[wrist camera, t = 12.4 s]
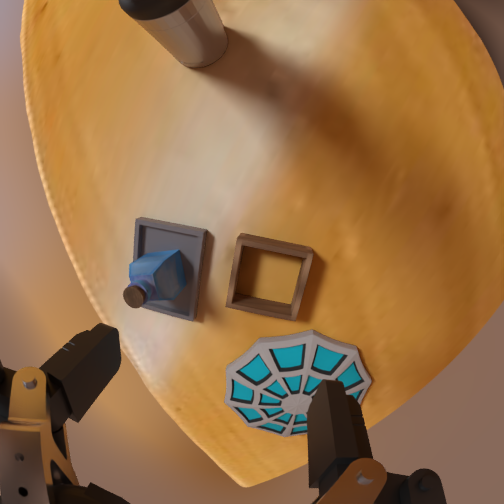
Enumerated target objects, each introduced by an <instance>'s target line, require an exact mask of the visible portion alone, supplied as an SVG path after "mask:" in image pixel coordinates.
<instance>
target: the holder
mask: <svg viewBox="0 0 504 504" xmlns="http://www.w3.org/2000/svg"><path fill="white" fill-rule="evenodd" d="M244 246H249V247H254V248H259V249H263V250H268V251H273V252H278V253H283V254H288V255H293V256H298V257H302V258H303V260H302V264H301V268H300V272H299V276H298V280H297V284H296V288H295V292H294V295H293V299H292V303H291V304H285V303H280V302H275V301H270V300H265V299H260V298H256V297H251V296H246V295H241V294H237V293H236V287H237V282H238V276H239V270H240V265H241V259H242V254H243V248H244ZM312 258H313V252H312V249H311V247H307V246H303V245H298V244H293V243H288V242H284V241H279V240H274V239H269V238H264V237H259V236H254V235H249V234H244V233H241V234H240V235H239V236H238V238H237V241H236V247H235V253H234V259H233V265H232V271H231V277H230V283H229V289H228V295H227V301H226V307H228V308H232V309H237V310H241V311H246V312H251V313H256V314H260V315H265V316H270V317H275V318H281V319H286V320H291V321H296V317H297V314H298V310H299V307H300V303H301V300H302V296H303V292H304V289H305V285H306V281H307V278H308V274H309V270H310V266H311V262H312Z"/></svg>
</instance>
